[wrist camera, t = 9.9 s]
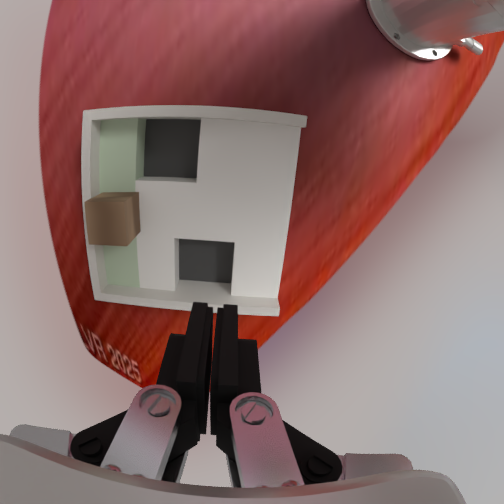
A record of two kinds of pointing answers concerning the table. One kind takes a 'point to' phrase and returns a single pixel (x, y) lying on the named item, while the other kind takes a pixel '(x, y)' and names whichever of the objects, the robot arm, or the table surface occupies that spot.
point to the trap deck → (193, 203)
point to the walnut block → (113, 218)
